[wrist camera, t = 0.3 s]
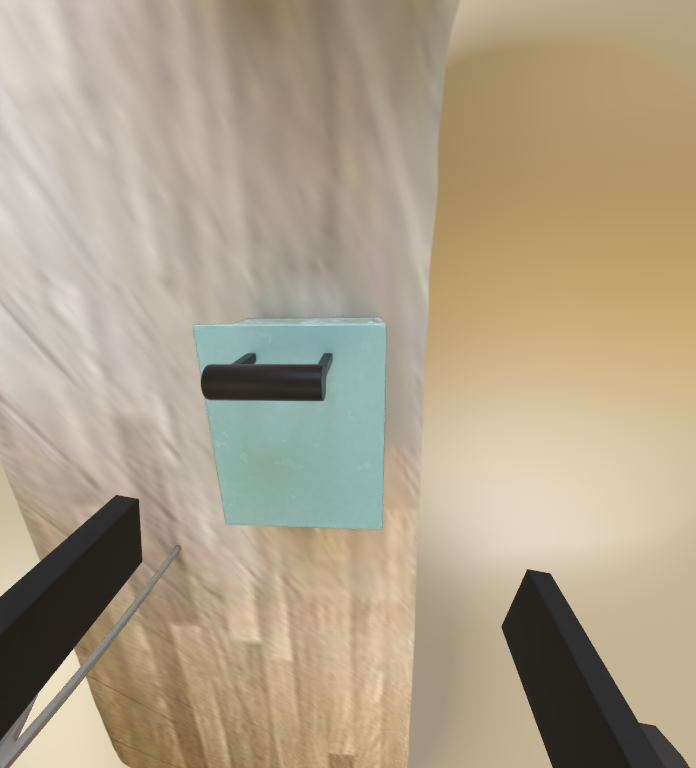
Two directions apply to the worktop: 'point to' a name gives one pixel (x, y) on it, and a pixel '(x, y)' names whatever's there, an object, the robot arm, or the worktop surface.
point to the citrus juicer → (11, 746)
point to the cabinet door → (297, 421)
